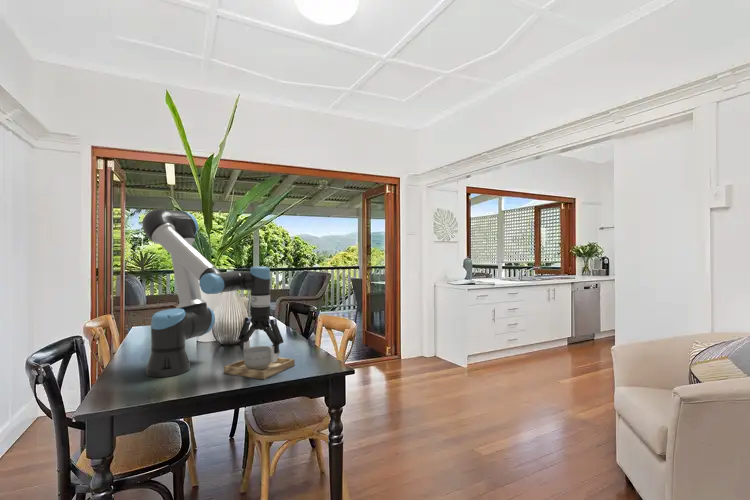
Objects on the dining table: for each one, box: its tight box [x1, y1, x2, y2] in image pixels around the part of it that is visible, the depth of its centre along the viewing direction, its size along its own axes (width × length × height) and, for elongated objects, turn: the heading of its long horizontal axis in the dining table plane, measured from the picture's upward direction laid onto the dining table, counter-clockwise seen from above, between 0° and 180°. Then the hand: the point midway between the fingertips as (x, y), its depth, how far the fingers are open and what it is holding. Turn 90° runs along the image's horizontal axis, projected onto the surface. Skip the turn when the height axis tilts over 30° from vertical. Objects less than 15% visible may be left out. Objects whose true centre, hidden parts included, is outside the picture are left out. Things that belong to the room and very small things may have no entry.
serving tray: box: [223, 356, 296, 380], centre depth 158 cm, size 19×19×2 cm
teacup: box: [242, 345, 281, 370], centre depth 158 cm, size 14×11×8 cm
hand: (260, 359), depth 158 cm, fingers open, 13 cm apart
